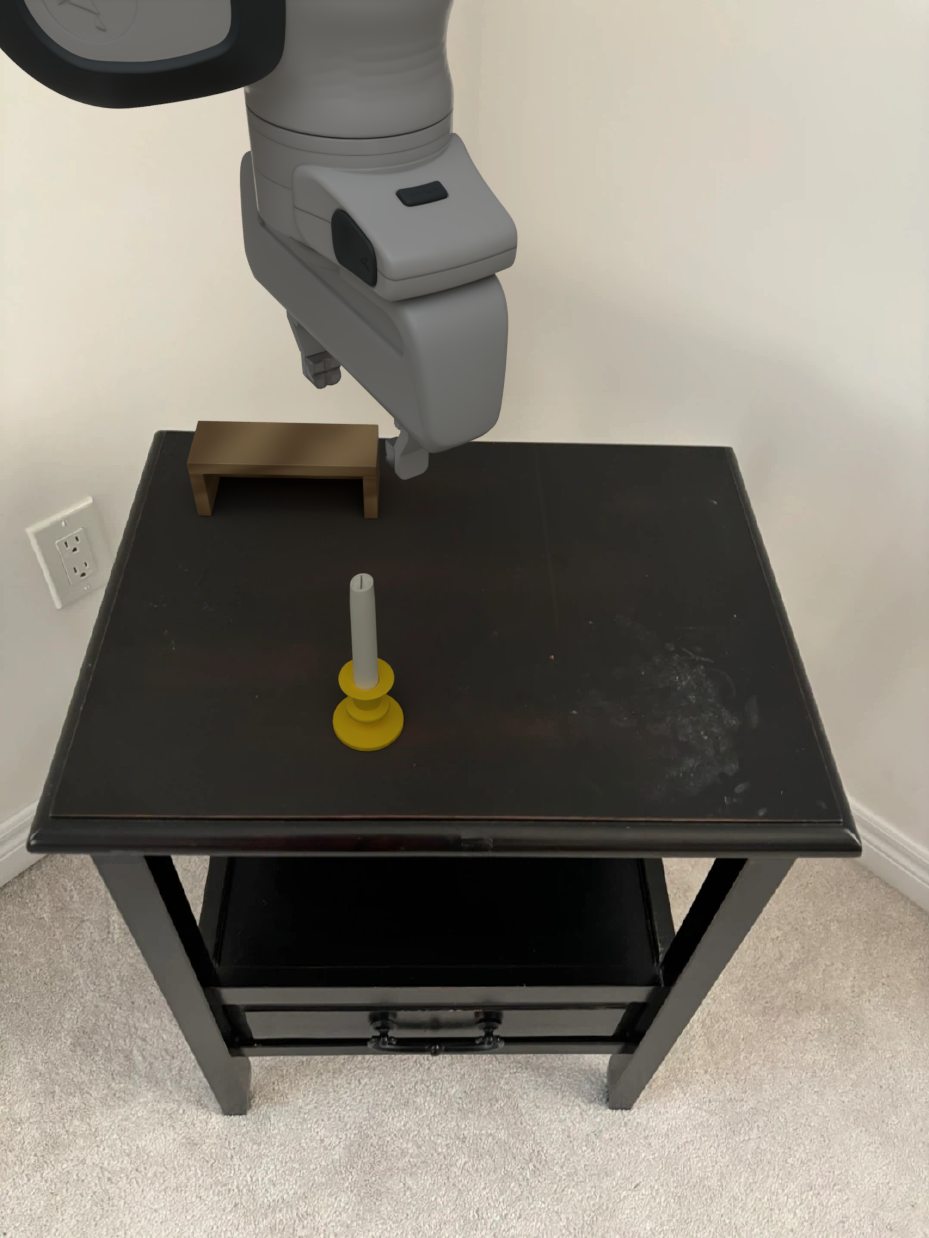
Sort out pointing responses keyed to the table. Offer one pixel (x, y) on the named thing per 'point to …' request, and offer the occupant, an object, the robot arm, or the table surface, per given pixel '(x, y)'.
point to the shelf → (283, 455)
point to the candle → (366, 680)
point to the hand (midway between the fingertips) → (362, 423)
